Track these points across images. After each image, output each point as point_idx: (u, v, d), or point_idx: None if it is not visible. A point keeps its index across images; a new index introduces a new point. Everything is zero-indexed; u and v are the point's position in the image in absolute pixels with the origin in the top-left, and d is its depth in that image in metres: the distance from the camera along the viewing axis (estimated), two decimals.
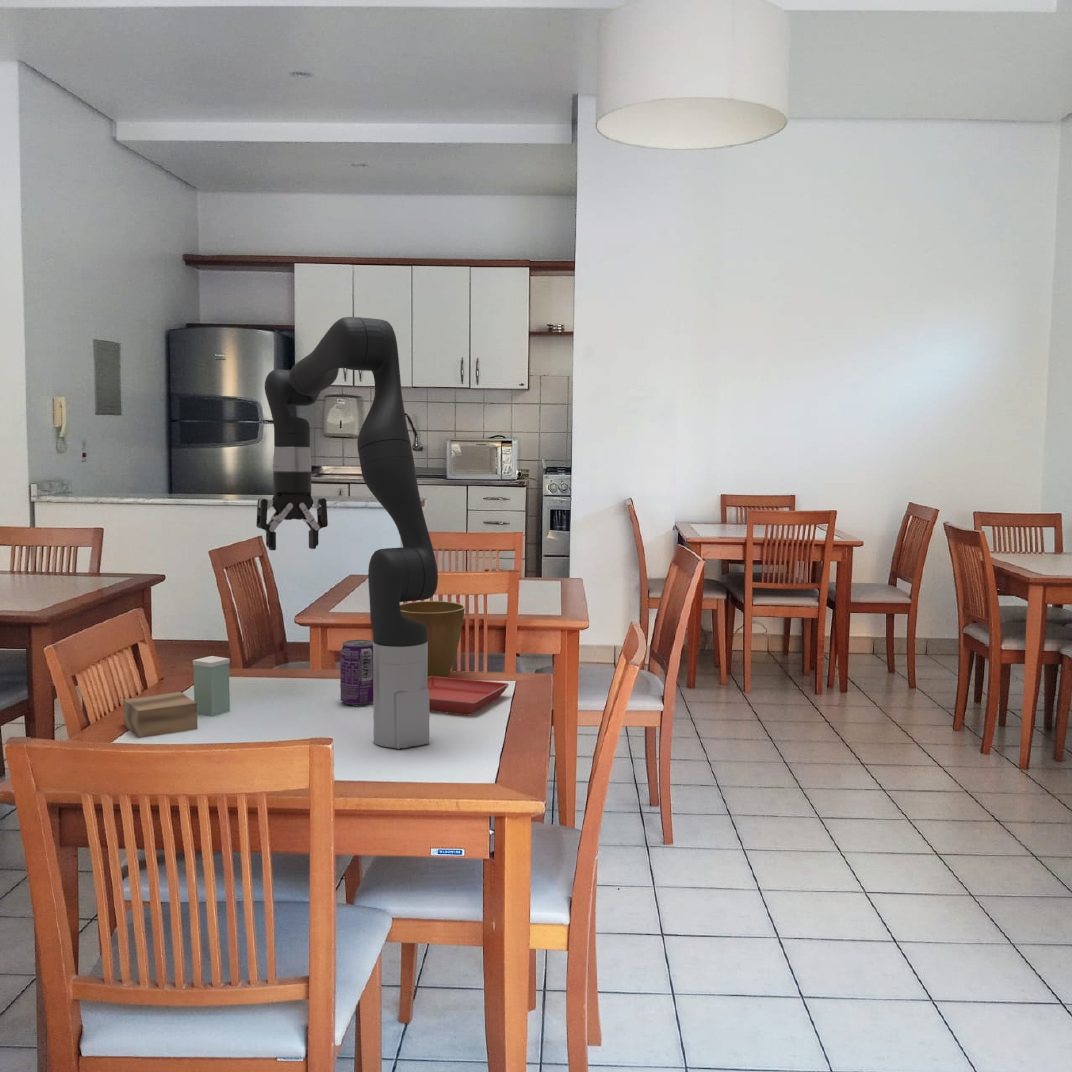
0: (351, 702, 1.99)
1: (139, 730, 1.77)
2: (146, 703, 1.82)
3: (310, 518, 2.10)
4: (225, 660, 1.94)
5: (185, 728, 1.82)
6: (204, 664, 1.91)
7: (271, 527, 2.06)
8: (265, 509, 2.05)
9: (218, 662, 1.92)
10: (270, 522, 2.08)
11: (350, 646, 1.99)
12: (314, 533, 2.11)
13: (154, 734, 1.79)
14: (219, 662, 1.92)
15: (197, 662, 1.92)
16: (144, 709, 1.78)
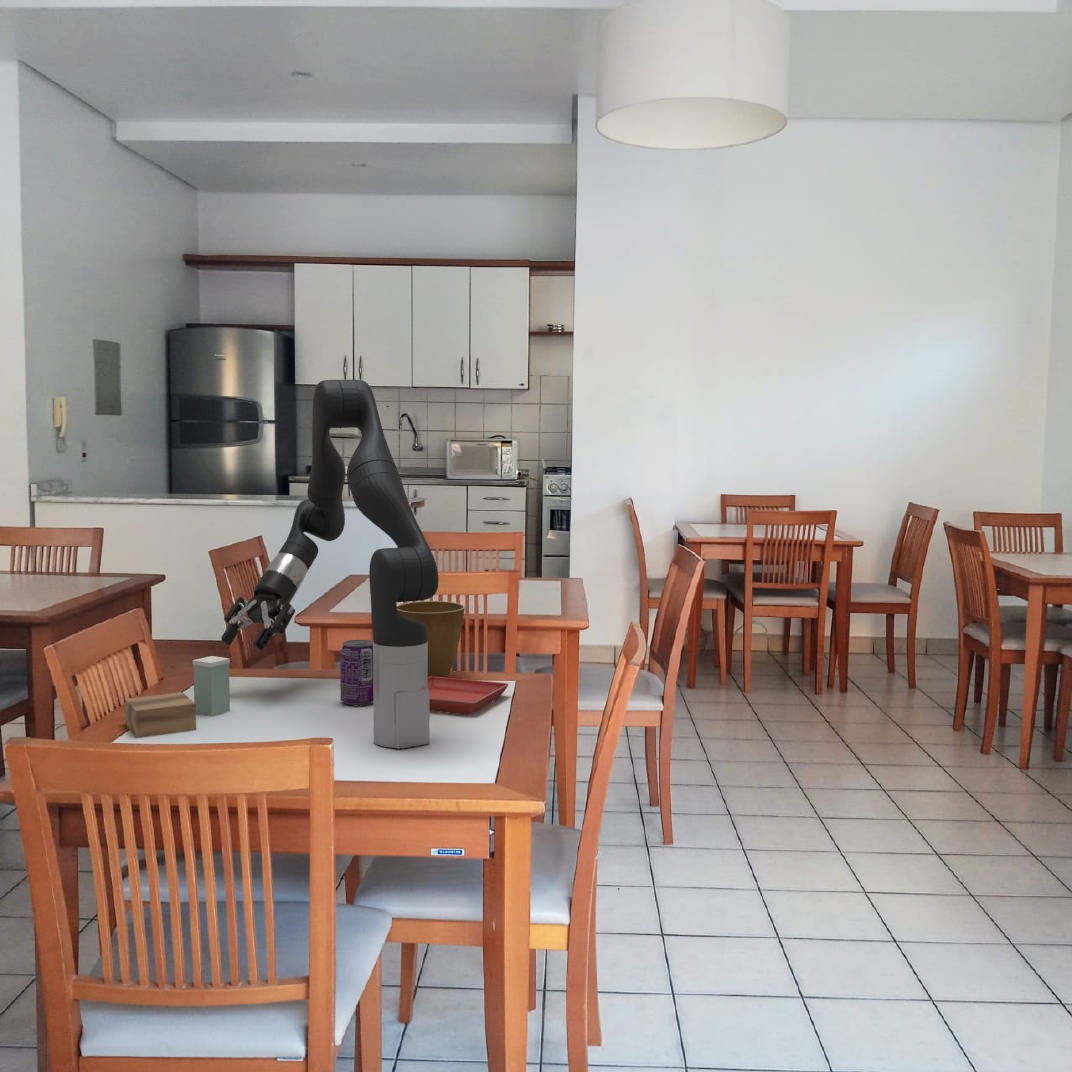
0: (351, 702, 1.99)
1: (137, 730, 1.77)
2: (146, 703, 1.82)
3: (264, 615, 2.01)
4: (225, 660, 1.94)
5: (184, 728, 1.81)
6: (204, 664, 1.91)
7: (231, 620, 2.04)
8: (236, 605, 2.07)
9: (218, 662, 1.92)
10: (241, 622, 2.06)
11: (350, 646, 1.99)
12: (262, 630, 1.99)
13: (152, 734, 1.79)
14: (219, 662, 1.92)
15: (197, 662, 1.92)
16: (142, 709, 1.78)
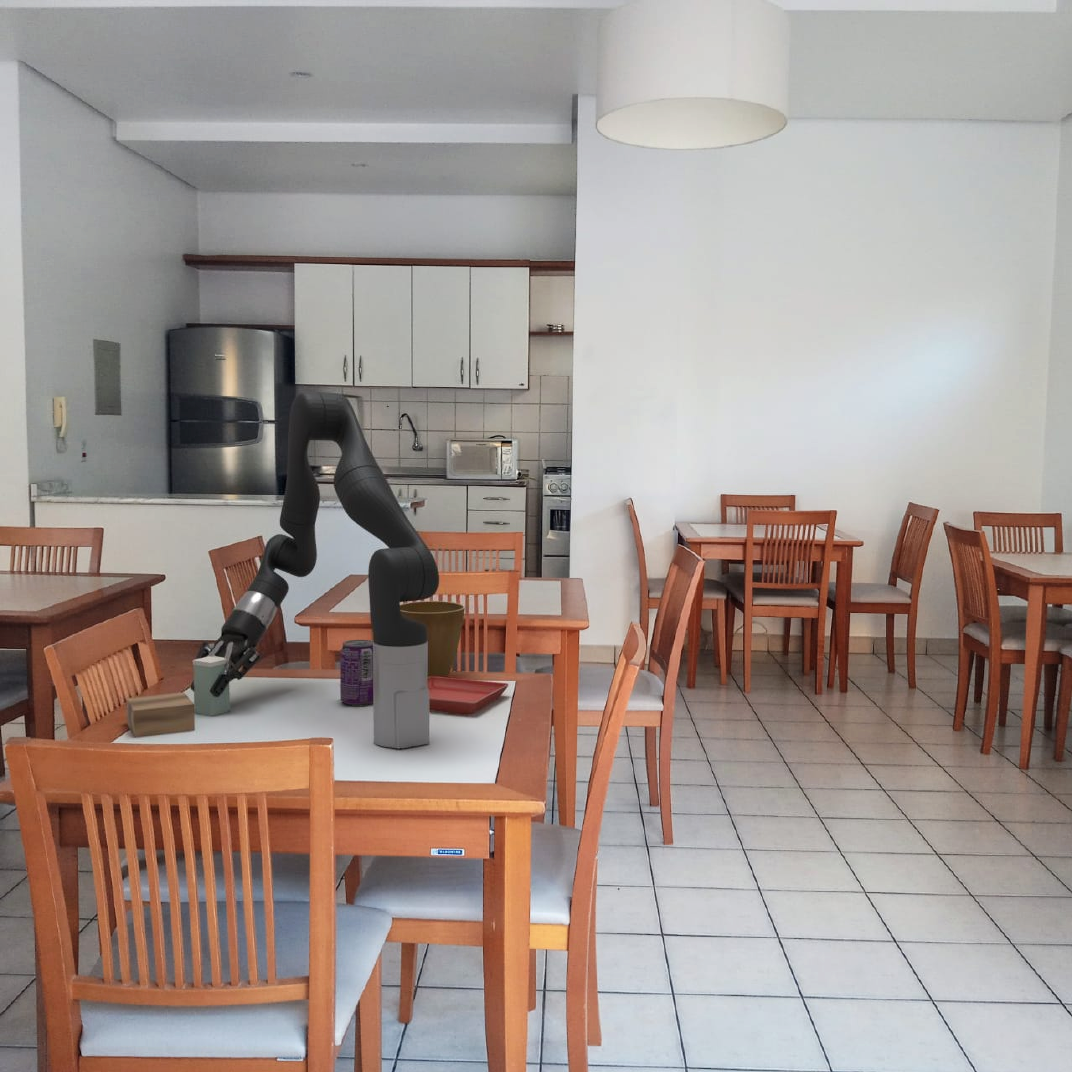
0: (351, 702, 1.99)
1: (135, 730, 1.77)
2: (145, 703, 1.82)
3: None
4: (225, 660, 1.94)
5: (182, 729, 1.81)
6: (204, 664, 1.91)
7: None
8: (202, 650, 1.99)
9: (218, 662, 1.92)
10: None
11: (350, 646, 1.99)
12: (219, 676, 1.92)
13: (150, 734, 1.79)
14: (219, 662, 1.92)
15: (197, 662, 1.92)
16: (140, 709, 1.78)
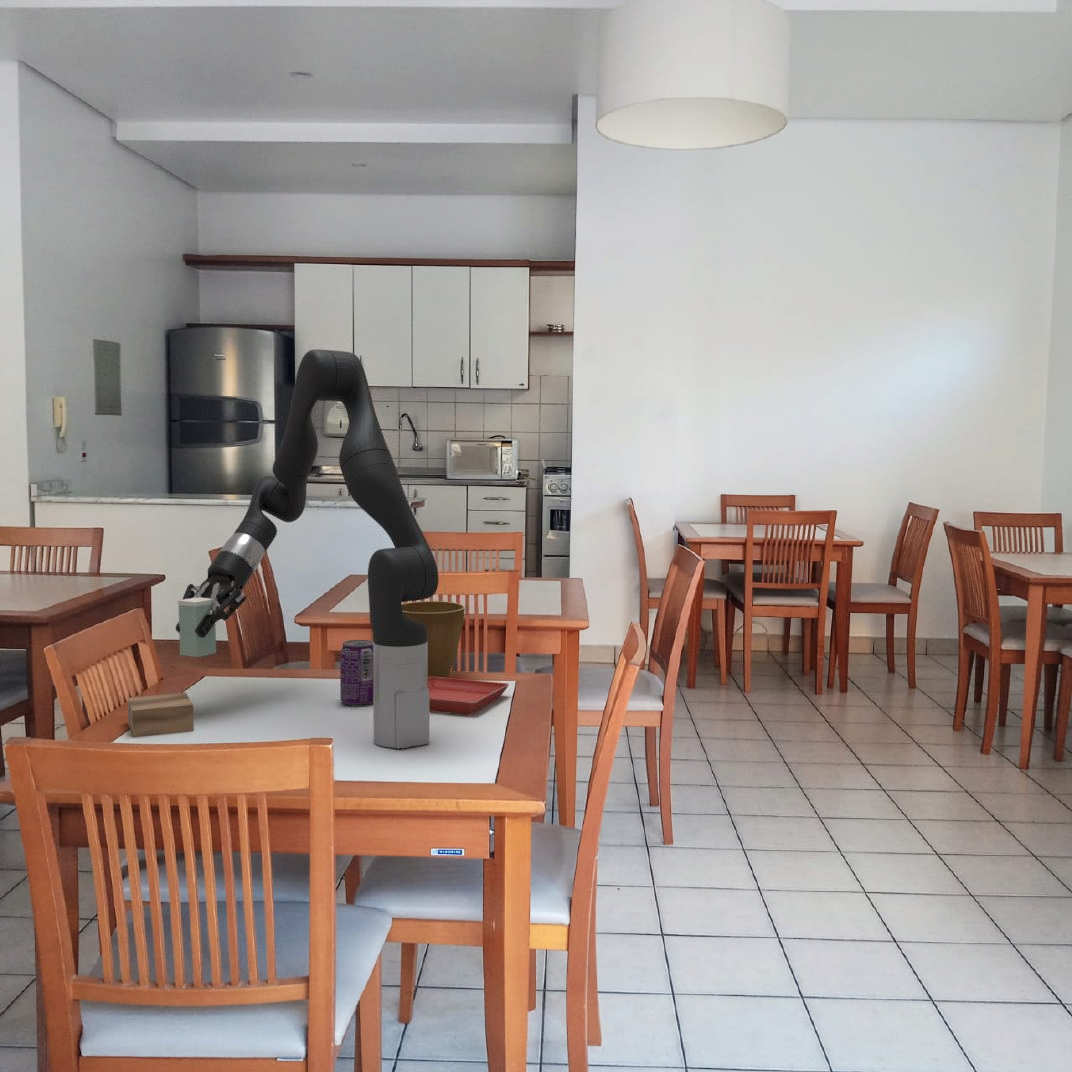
0: (351, 702, 1.99)
1: (133, 730, 1.77)
2: (145, 703, 1.82)
3: None
4: (211, 600, 1.90)
5: (181, 729, 1.81)
6: (189, 604, 1.88)
7: None
8: (188, 592, 1.95)
9: (203, 602, 1.88)
10: None
11: (350, 646, 1.99)
12: (204, 617, 1.88)
13: (148, 734, 1.79)
14: (204, 602, 1.89)
15: (182, 602, 1.88)
16: (139, 709, 1.78)
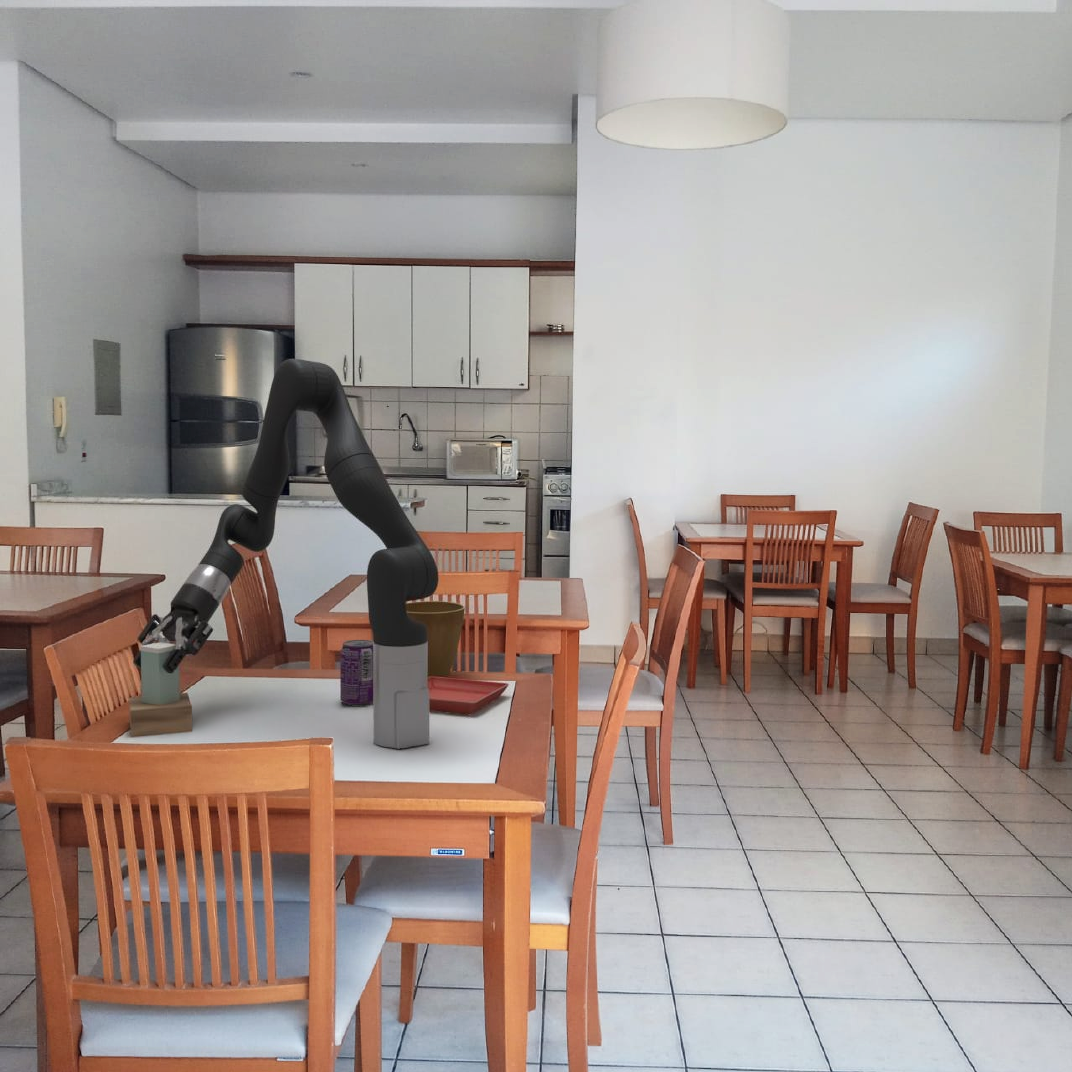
0: (351, 702, 1.99)
1: (131, 730, 1.78)
2: (145, 703, 1.82)
3: (177, 634, 1.83)
4: (174, 646, 1.83)
5: (179, 730, 1.81)
6: (151, 650, 1.81)
7: (145, 640, 1.86)
8: (150, 623, 1.88)
9: (166, 648, 1.81)
10: (156, 642, 1.87)
11: (350, 646, 1.99)
12: (173, 652, 1.81)
13: (147, 734, 1.79)
14: (168, 648, 1.82)
15: (144, 648, 1.81)
16: (137, 709, 1.78)
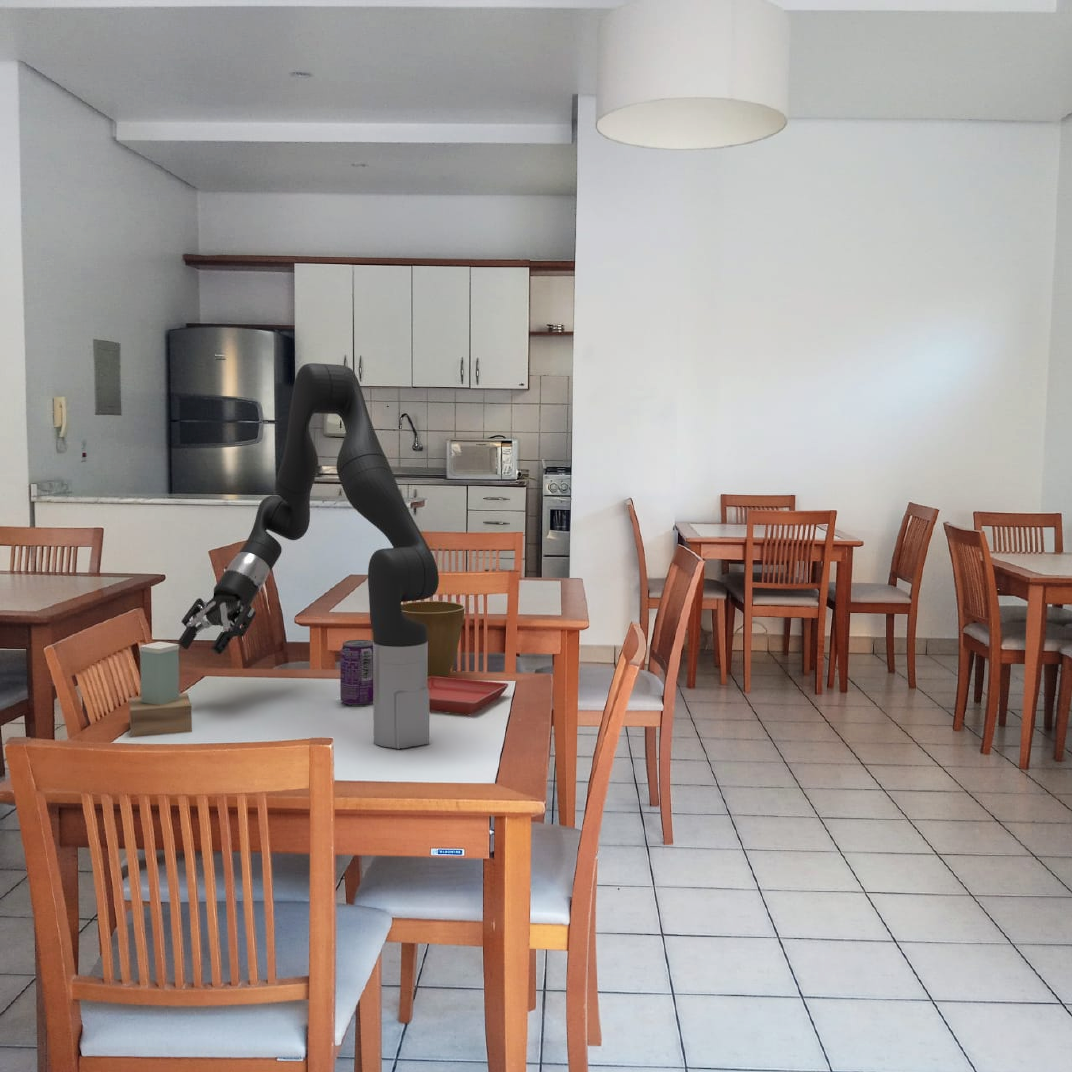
0: (351, 702, 1.99)
1: (131, 730, 1.78)
2: (145, 703, 1.82)
3: (223, 617, 1.92)
4: (174, 646, 1.83)
5: (179, 730, 1.81)
6: (152, 650, 1.80)
7: (189, 622, 1.95)
8: (194, 606, 1.98)
9: (167, 648, 1.81)
10: (199, 625, 1.97)
11: (350, 646, 1.99)
12: (221, 634, 1.90)
13: (146, 734, 1.79)
14: (168, 648, 1.81)
15: (144, 648, 1.81)
16: (137, 709, 1.78)
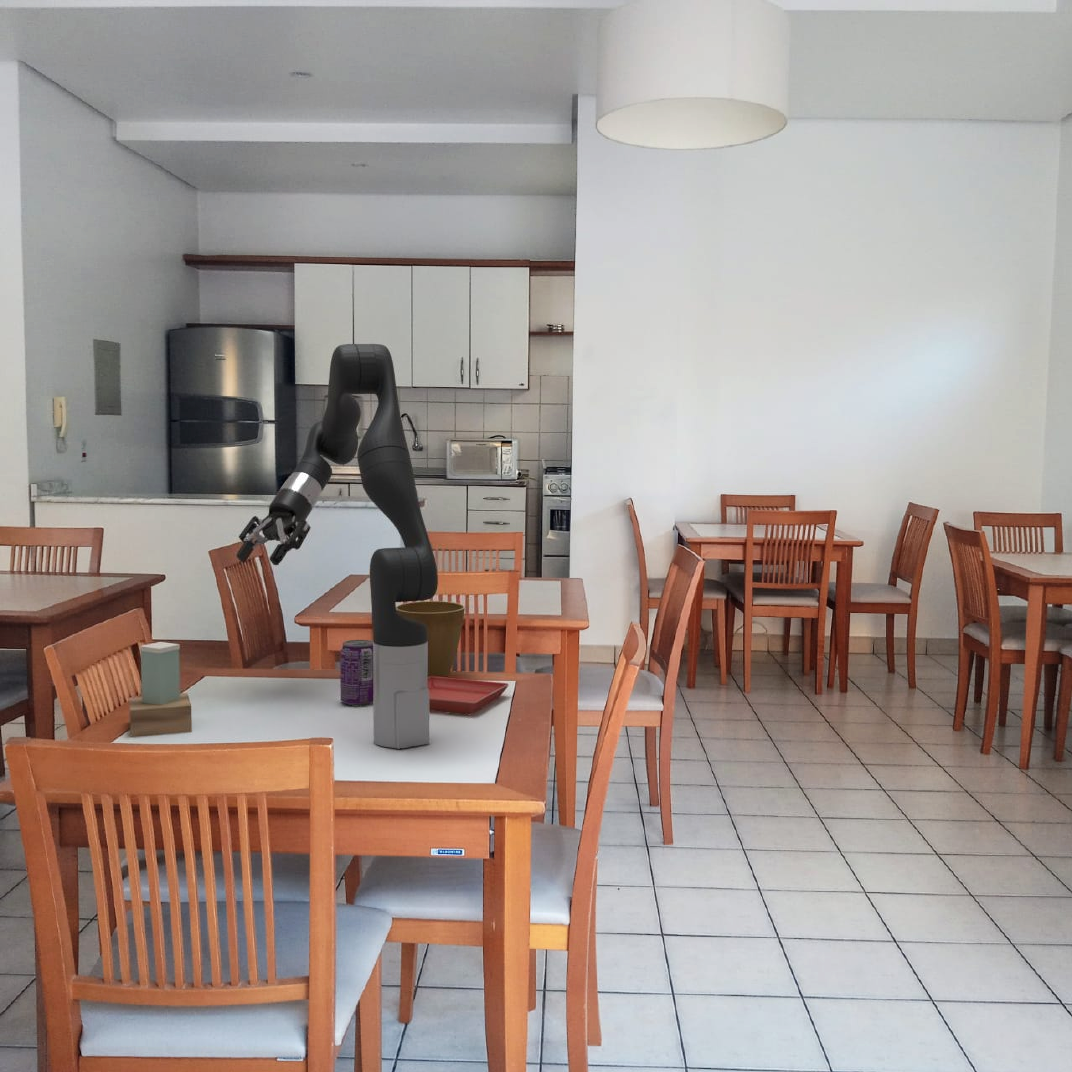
0: (351, 702, 1.99)
1: (131, 730, 1.78)
2: (145, 703, 1.82)
3: (280, 531, 2.01)
4: (175, 646, 1.83)
5: (179, 730, 1.80)
6: (152, 650, 1.81)
7: (246, 537, 2.04)
8: (250, 523, 2.07)
9: (167, 648, 1.81)
10: (255, 541, 2.06)
11: (350, 646, 1.99)
12: (278, 546, 1.99)
13: (146, 734, 1.78)
14: (168, 648, 1.82)
15: (145, 648, 1.81)
16: (137, 709, 1.78)
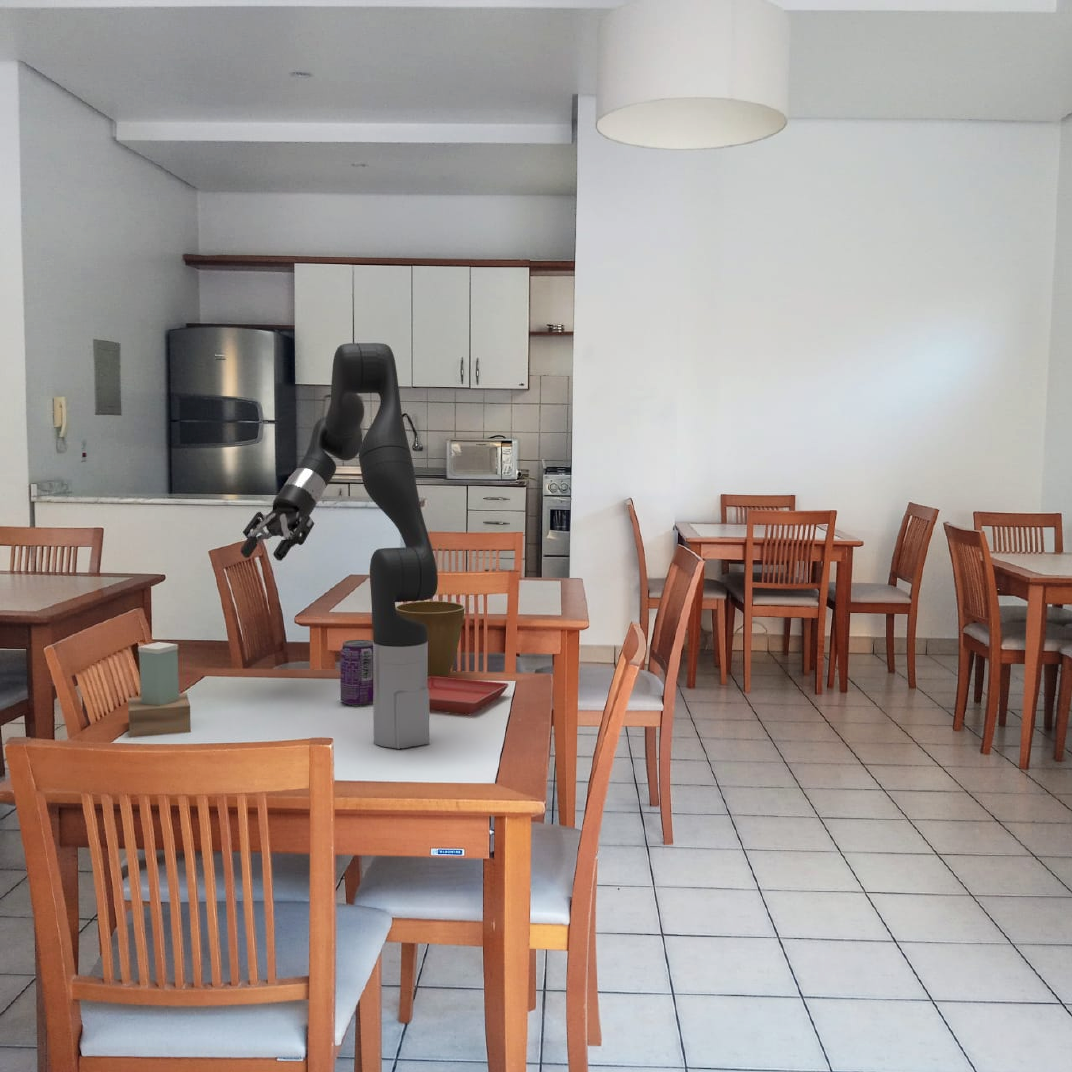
0: (351, 702, 1.99)
1: (130, 730, 1.77)
2: None
3: (283, 527, 2.01)
4: (173, 646, 1.83)
5: (178, 730, 1.80)
6: (150, 651, 1.80)
7: (250, 533, 2.04)
8: (255, 519, 2.07)
9: (166, 648, 1.81)
10: (259, 536, 2.06)
11: (350, 646, 1.99)
12: (282, 541, 1.99)
13: (145, 735, 1.78)
14: (167, 648, 1.81)
15: (143, 649, 1.81)
16: (136, 709, 1.78)
